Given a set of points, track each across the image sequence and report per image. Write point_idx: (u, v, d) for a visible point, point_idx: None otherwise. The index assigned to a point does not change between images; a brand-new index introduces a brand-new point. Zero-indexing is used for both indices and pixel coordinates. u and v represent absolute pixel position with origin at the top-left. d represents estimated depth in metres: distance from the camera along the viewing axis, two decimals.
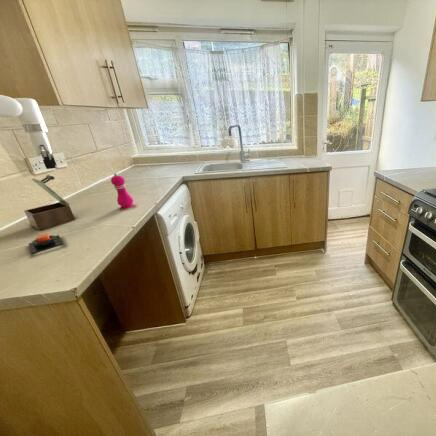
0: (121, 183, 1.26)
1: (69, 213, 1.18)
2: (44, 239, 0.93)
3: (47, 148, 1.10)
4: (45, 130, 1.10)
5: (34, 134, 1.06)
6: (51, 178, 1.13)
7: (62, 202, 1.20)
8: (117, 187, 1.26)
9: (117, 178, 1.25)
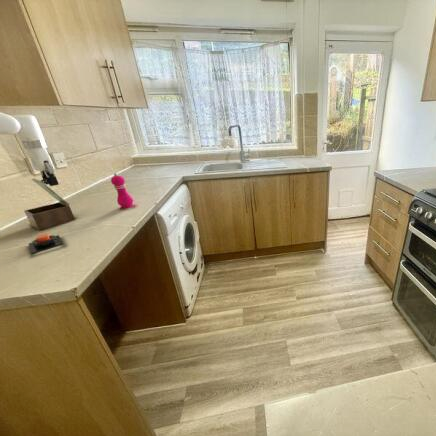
0: (121, 183, 1.26)
1: (69, 213, 1.18)
2: (44, 239, 0.93)
3: (51, 163, 1.10)
4: (46, 146, 1.10)
5: (38, 150, 1.06)
6: None
7: (62, 202, 1.20)
8: (117, 187, 1.26)
9: (117, 178, 1.25)
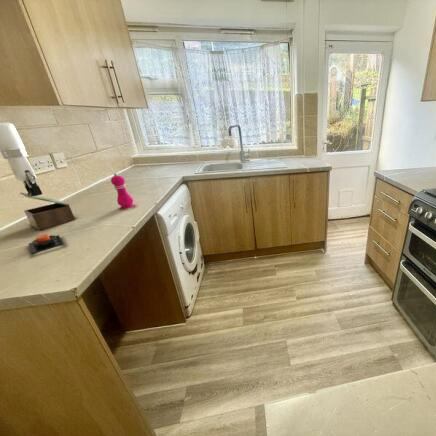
0: (121, 183, 1.26)
1: (69, 213, 1.18)
2: (44, 239, 0.93)
3: (33, 173, 1.06)
4: (27, 154, 1.05)
5: (18, 160, 1.01)
6: None
7: None
8: (117, 187, 1.26)
9: (117, 178, 1.25)
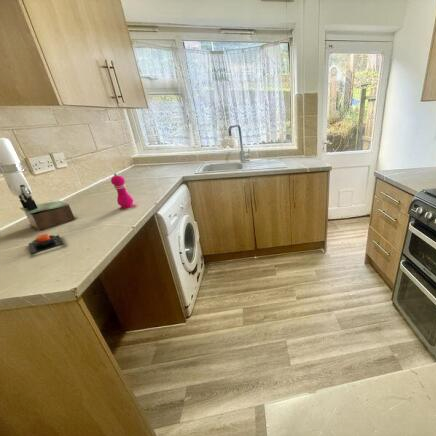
0: (121, 183, 1.26)
1: (69, 213, 1.18)
2: (44, 239, 0.93)
3: (28, 187, 1.05)
4: (22, 169, 1.05)
5: (13, 175, 1.01)
6: None
7: None
8: (117, 187, 1.26)
9: (117, 178, 1.25)
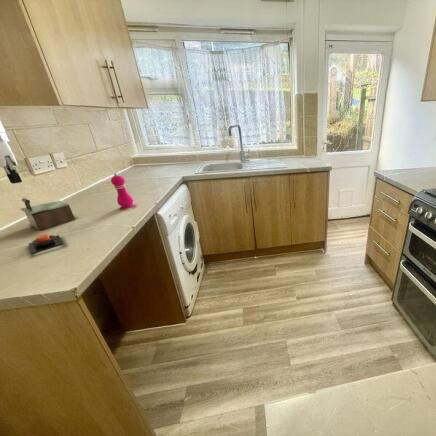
0: (121, 183, 1.26)
1: (69, 213, 1.18)
2: (44, 239, 0.93)
3: (13, 159, 0.99)
4: (8, 139, 0.99)
5: None
6: (28, 202, 1.08)
7: None
8: (117, 187, 1.26)
9: (117, 178, 1.25)
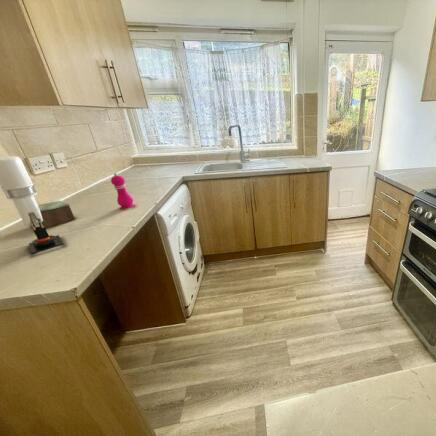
0: (121, 183, 1.26)
1: (69, 213, 1.18)
2: None
3: (38, 215, 0.88)
4: (34, 193, 0.87)
5: (21, 201, 0.84)
6: None
7: None
8: (117, 187, 1.26)
9: (117, 178, 1.25)
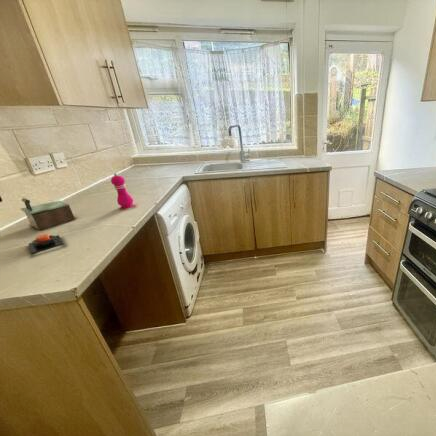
0: (121, 183, 1.26)
1: (69, 213, 1.18)
2: (44, 239, 0.93)
3: None
4: None
5: None
6: (28, 202, 1.08)
7: None
8: (117, 187, 1.26)
9: (117, 178, 1.25)
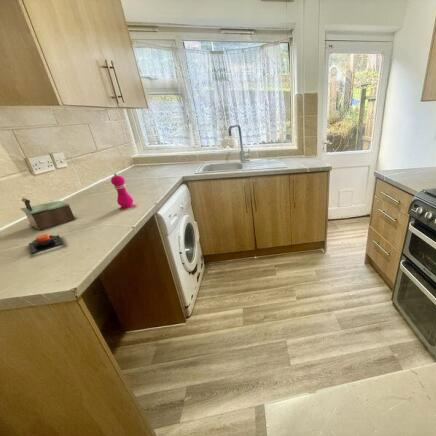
0: (121, 183, 1.26)
1: (69, 213, 1.18)
2: (44, 239, 0.93)
3: None
4: None
5: None
6: (28, 202, 1.08)
7: None
8: (117, 187, 1.26)
9: (117, 178, 1.25)
